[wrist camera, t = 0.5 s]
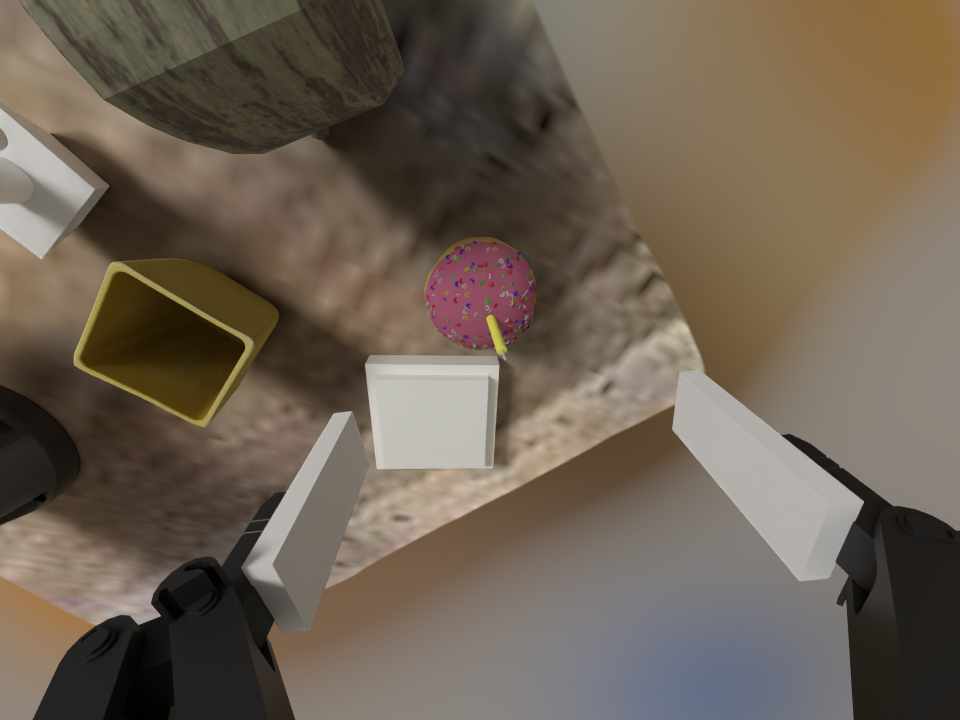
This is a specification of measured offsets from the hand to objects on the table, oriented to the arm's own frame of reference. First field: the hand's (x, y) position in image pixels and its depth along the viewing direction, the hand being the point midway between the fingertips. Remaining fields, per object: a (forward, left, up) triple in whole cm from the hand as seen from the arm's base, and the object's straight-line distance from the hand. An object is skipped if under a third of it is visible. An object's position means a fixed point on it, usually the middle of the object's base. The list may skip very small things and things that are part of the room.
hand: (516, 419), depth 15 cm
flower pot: (-22, -2, -20) cm, 29 cm away
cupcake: (-1, +1, -19) cm, 19 cm away
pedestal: (-5, -12, -19) cm, 23 cm away
